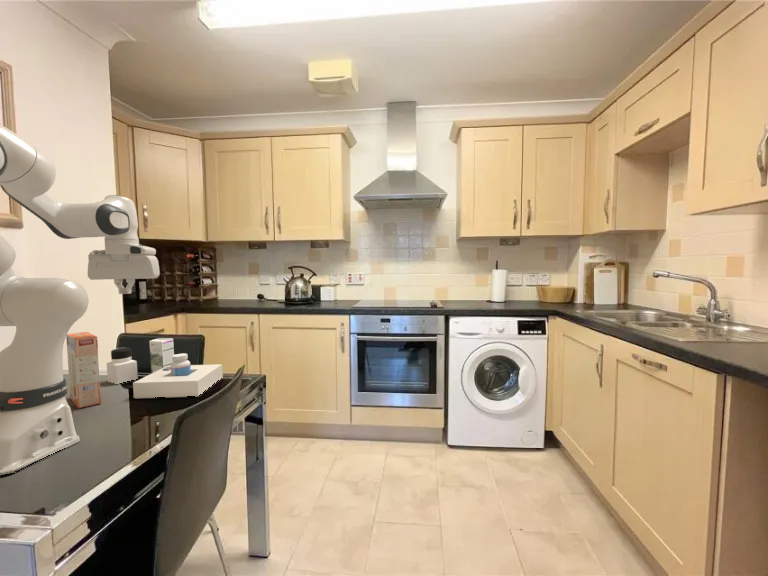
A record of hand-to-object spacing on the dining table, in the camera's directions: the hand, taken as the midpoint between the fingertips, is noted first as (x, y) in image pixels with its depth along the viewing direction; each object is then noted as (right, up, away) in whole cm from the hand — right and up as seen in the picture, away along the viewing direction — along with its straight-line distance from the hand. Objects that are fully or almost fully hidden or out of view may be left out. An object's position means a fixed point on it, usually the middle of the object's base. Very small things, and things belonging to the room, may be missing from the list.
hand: (125, 293), depth 119 cm
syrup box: (-1, -32, +23) cm, 39 cm away
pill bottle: (+12, -32, +10) cm, 36 cm away
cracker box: (-11, -34, -1) cm, 35 cm away
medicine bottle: (-14, -32, +19) cm, 40 cm away
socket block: (+12, -32, +10) cm, 36 cm away
